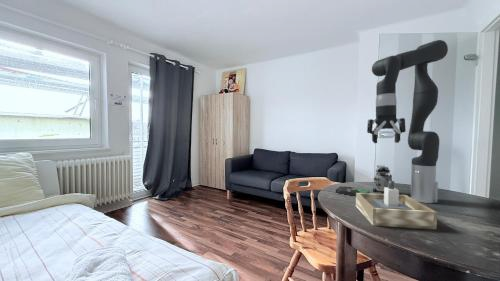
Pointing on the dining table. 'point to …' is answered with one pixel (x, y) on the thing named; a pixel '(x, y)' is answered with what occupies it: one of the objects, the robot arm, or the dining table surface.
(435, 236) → the dining table surface
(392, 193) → the plug
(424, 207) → the walled box
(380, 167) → the figurine
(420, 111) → the robot arm
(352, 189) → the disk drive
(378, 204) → the block
